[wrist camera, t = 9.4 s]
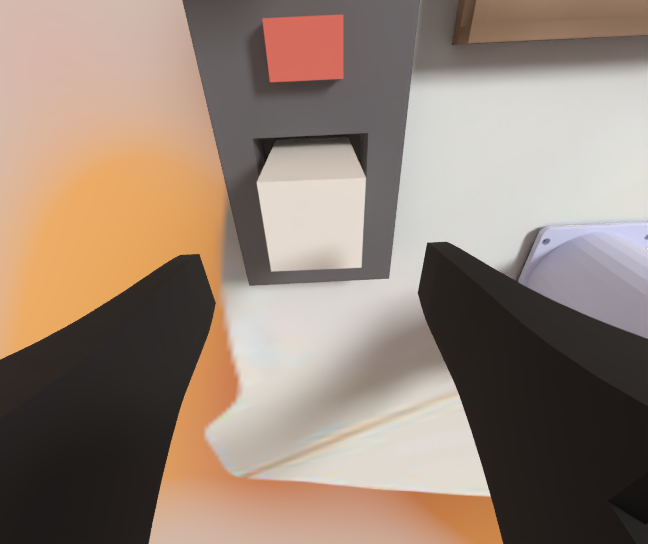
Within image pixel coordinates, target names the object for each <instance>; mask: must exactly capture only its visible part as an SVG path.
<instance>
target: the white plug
mask: <svg viewBox="0 0 648 544" xmlns="http://www.w3.org/2000/svg"><path fill="white" fill-rule="evenodd" d="M257 188H258V194H259V200H260V206H261V212H262V218H263V224H264V230H265V236H266V242H267V249H268V255H269V261H270V267H271V272H272V271H296V270H319V269H342V268H361V267H362V247H363V228H364V208H365V188H366V177H365V174H364V172H363V170H362V168H361V165H360V163H359V161H358V159H357V156H356V154H355V152H354V150H353V147H352V145H351V143H350V141H349V138H348V137H333V138H309V139H284V140H276V141H275V143H274V145H273V147H272V150H271V152H270V154H269V156H268V158H267V161H266V163H265V165H264V167H263V169H262V172H261V174H260V176H259V178H258V180H257Z"/></svg>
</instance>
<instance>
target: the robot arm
mask: <svg viewBox="0 0 648 544" xmlns="http://www.w3.org/2000/svg"><path fill="white" fill-rule="evenodd" d="M545 239H546V240H545ZM543 240H545V241H543ZM647 248H648V221H643V222H623V223H603V224H583V225H563V226H547V227H544V228H542V229H541V230H540V232H539V233H538V235H537V238H536V240H535V242H534V245H533V247H532V249H531V252H530V254H529V256H528V259H527V261H526V263H525V266H524V268H523V270H522V273H521V275H520V277H519V280H518V282H517V281H515V280H513V279H511V278H509V277H508V276H506V275H504V274H502V273H501V272H499V271H497V270H495V269H494V268H492V267H490V266H489V265H487V264H485V263H483V262H482V261H480V260H478V259H477V258H475V257H473V256H472V255H470V254H468V253H467V252H465V251H463V250H461V249H460V248H458V247H456V246H454V245H452V244H450V243H448V242H433V243H427V247H426V252H425V258H424V263H423V268H422V274H421V279H420V284H419V290H418V295H419V299H420V302H421V306H422V309H423V313H424V316H425V319H426V321H427V324H428V326H429V328H430V330H431V333H432V335H433V337H434V339H435V341H436V344H437V346H438V348H439V350H440V352H441V354H442V357H443V359H444V361H445V363H446V365H447V367H448V370H449V372H450V374H451V376H452V378H453V381H454V383H455V385H456V388H457V390H458V393H459V395H460V398H461V401H462V404H463V407H464V410H465V413H466V416H467V419H468V422H469V425H470V428H471V431H472V434H473V438H474V441H475V444H476V447H477V450H478V454H479V457H480V460H481V463H482V467H483V470H484V474H485V477H486V481H487V484H488V488H489V491H490V495H491V498H492V502H493V505H494V509H495V513H496V517H497V521H498V524H499V529H500V532H501V536H502V540H503V544H648V250H647ZM215 304H216V303H215V300H214V297H213V294H212V291H211V288H210V285H209V282H208V279H207V276H206V273H205V270H204V267H203V264H202V261H201V258H200V255H199V254H192V255H180V256H178V257H176V258H174V259H172V260H171V261H169V262H167V263H166V264H164V265H163V266H161V267H159V268H158V269H156V270H155V271H153V272H152V273H151V274H149V275H148V276H146V277H145V278H143V279H142V280H140V281H139V282H137V283H136V284H134V285H133V286H131V287H130V288H128V289H127V290H126V291H124V292H122V293H121V294H119V295H118V296H116V297H114V298H113V299H111V300H110V301H108V302H107V303H105V304H103V305H102V306H100V307H99V308H97V309H95V310H94V311H92V312H90V313H89V314H87V315H86V316H84V317H82V318H80V319H79V320H77V321H75V322H73V323H72V324H70V325H68V326H67V327H65V328H63V329H61V330H59V331H57V332H55V333H53V334H51V335H50V336H48V337H46V338H44V339H42V340H40V341H39V342H36V343H34V344H32V345H30V346H28V347H26V348H24V349H22V350H20V351H18V352H16V353H13V354H11V355H9V356H7V357H5V358H3V359H1V360H0V544H148V543H149V538H150V533H151V528H152V522H153V518H154V513H155V508H156V504H157V499H158V494H159V490H160V485H161V480H162V476H163V472H164V468H165V464H166V460H167V456H168V452H169V448H170V443H171V439H172V436H173V432H174V429H175V425H176V421H177V418H178V413H179V410H180V407H181V404H182V401H183V398H184V395H185V393H186V390H187V387H188V385H189V382H190V380H191V377H192V375H193V372H194V370H195V367H196V364H197V362H198V359H199V357H200V354H201V351H202V349H203V346H204V343H205V341H206V339H207V336H208V333H209V330H210V326H211V322H212V318H213V313H214V309H215Z"/></svg>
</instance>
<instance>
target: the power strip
mask: <svg viewBox="0 0 648 544" xmlns="http://www.w3.org/2000/svg"><path fill="white" fill-rule="evenodd" d="M419 1H420V0H183V4H184V9H185V12H186V17H187V21H188V25H189V30H190V33H191V38H192V42H193V47H194V51H195V55H196V60H197V64H198V68H199V72H200V77H201V81H202V85H203V89H204V94H205V98H206V102H207V107H208V111H209V115H210V119H211V123H212V128H213V132H214V136H215V141H216V145H217V149H218V153H219V158H220V162H221V166H222V170H223V175H224V179H225V183H226V188H227V192H228V196H229V200H230V205H231V209H232V213H233V217H234V222H235V226H236V230H237V234H238V239H239V243H240V247H241V251H242V256H243V260H244V264H245V269H246V273H247V277H248V281H249V286H250V285H270V284H290V283H310V282H330V281H350V280H370V279H389V273H390V264H391V255H392V246H393V237H394V228H395V219H396V210H397V201H398V192H399V183H400V173H401V164H402V155H403V146H404V137H405V128H406V119H407V110H408V101H409V92H410V83H411V74H412V65H413V56H414V46H415V37H416V28H417V19H418V10H419ZM358 133H361V149H360V165H361V168H362V170H363V172H364V174H365V177H366V188H365V208H364V228H363V247H362V267H361V268H342V269H319V270H296V271H272V272H271V267H270V261H269V255H268V249H267V242H266V236H265V230H264V224H263V218H262V212H261V206H260V200H259V194H258V188H257V180H258V178H259V176H260V174H261V172H262V169H263V167H264V165H265V159H264V152H263V146H262V139H261V138H276V137H297V136H317V135H338V134H358Z"/></svg>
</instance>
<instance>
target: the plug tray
mask: <svg viewBox="0 0 648 544" xmlns="http://www.w3.org/2000/svg"><path fill="white" fill-rule="evenodd" d="M644 35H648V0H460V1H459V7H458V13H457V19H456V25H455V31H454V37H453V42H452V45H455V44H476V43H497V42H518V41H539V40H560V39H581V38H602V37H623V36H644Z"/></svg>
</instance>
